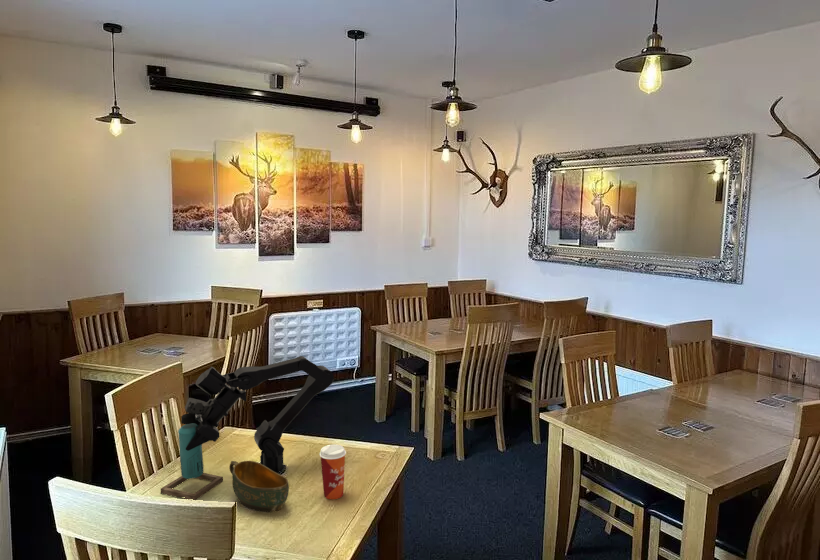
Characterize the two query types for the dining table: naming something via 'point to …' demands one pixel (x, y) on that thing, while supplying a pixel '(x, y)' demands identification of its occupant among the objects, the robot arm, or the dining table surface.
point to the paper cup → (333, 470)
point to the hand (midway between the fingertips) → (185, 445)
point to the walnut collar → (215, 481)
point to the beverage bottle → (193, 457)
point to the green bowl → (258, 486)
